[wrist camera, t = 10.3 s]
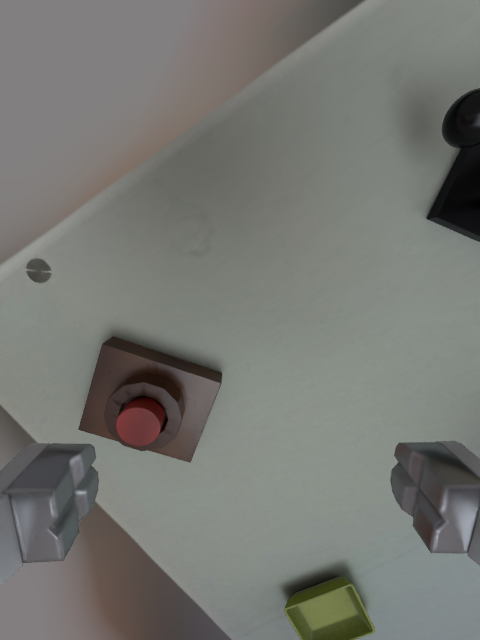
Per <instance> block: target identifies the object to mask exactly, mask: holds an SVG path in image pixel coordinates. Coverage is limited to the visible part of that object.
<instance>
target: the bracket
mask: <svg viewBox="0 0 480 640" xmlns="http://www.w3.org/2000/svg"><path fill="white" fill-rule="evenodd" d="M427 219H428V220H431V221H433V222H435V223H438V224H440V225H442V226H445V227H447V228H449V229H452V230H454V231H456V232H458V233H461V234H463V235H465V236H468V237H470V238H472V239H475V240H477V241H479V242H480V144H479V145H476V146H474V147H470V148H462V149H461V151H460V153H459V155H458V157H457V159H456V161H455V163H454V165H453V167H452V169H451V171H450V173H449V175H448V177H447V179H446V181H445V183H444V185H443V187H442V189H441V191H440V193H439V195H438V197H437V199H436V201H435V203H434V205H433V207H432V209H431V211H430V213H429V215H428V217H427Z"/></svg>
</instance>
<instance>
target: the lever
mask: <svg viewBox="0 0 480 640" xmlns="http://www.w3.org/2000/svg"><path fill="white" fill-rule="evenodd" d="M442 135H443V138H444V140H445V141H446V142H447V143H448V144H449V145H450V146H452V147H455V148H470V147H474V146H476V145H479V144H480V88H478V89H474V90H472V91H469V92H467V93H466V94H464V95H463V96H461V97H460V98H459V99H457V100H456V101H455V102H454V103H453V104H452V106H451V107H450V108H449V110H448V111H447V113H446V115H445V117H444V120H443V123H442Z"/></svg>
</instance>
